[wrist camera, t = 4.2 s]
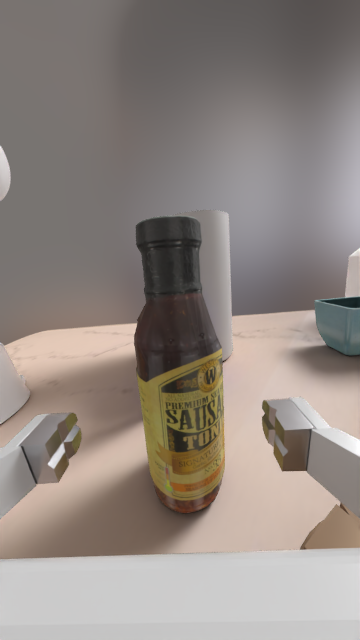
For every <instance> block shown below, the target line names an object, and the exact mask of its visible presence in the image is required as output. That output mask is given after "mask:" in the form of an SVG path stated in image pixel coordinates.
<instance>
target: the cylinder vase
mask: <svg viewBox="0 0 360 640" xmlns="http://www.w3.org/2000/svg"><path fill="white" fill-rule="evenodd" d="M177 215H180V216H190V217H194V218H196V219H197V220H198V221H199V222H200V225H201V237H202V244H201V247H200V250H199V260H200V282H201V284H202V294H203V297H204V300H205V303H206V306H207V309H208V312H209V315H210V318H211V321H212V324H213V327H214V329H215V332H216V335H217V338H218V340H219V342H220V344H221V346H222V361H224V360H226V359H227V358H228V357H229V356H230V355H231V354H232V351H233V341H232V310H231V278H230V247H229V215H228V214H227V213H226V212H223V211H216V210H200V211H191V212H184V213H179V214H175V215H172V216H177Z"/></svg>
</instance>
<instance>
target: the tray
mask: <svg viewBox="0 0 360 640" xmlns="http://www.w3.org/2000/svg"><path fill="white" fill-rule="evenodd" d="M338 548H360V519H359V518H358V517H357V516H356V515H355V514H354V513H353V512H352V511H350V510H349V509H348V508H347V507H346V506H345V505H344V504H342V503H341V504H340V507H339V506H338V505H337V504H336V505H335V507H334V508H333V509H332V511H331V512H330V513H329V514H328V516H327V517H326V518H325V520H323V521H321V522H320V523H319V524H318V525H317V526H316V527H315V528H314V529H313V530H312V531H311V532H310V533H309V535H308V536H307V538H306V539H305V541H304V543H303V544H302V546H301V549H300V550H307V549H338Z"/></svg>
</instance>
